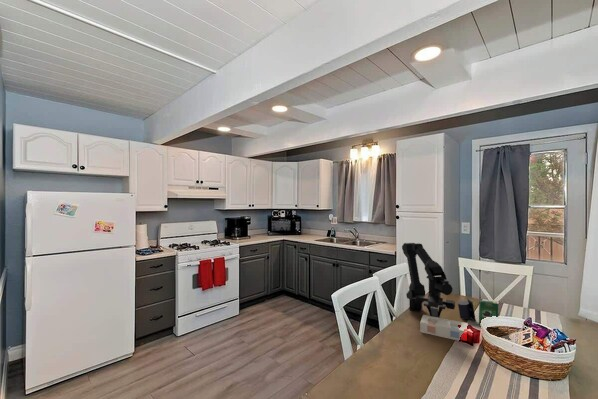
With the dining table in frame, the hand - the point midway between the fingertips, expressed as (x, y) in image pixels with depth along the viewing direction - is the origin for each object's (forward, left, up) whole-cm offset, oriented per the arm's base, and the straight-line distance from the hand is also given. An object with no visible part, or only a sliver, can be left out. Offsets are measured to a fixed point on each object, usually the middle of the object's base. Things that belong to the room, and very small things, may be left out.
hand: (434, 317), depth 149 cm
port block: (+5, -10, -2) cm, 11 cm away
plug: (0, 0, -2) cm, 2 cm away
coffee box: (+24, +8, -3) cm, 25 cm away
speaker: (+14, +14, -3) cm, 20 cm away
